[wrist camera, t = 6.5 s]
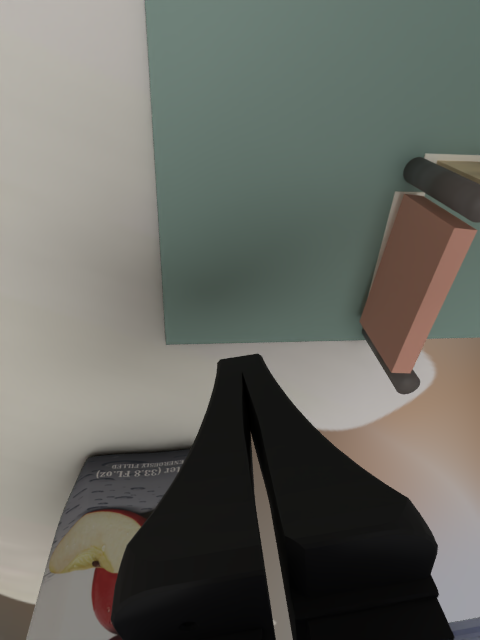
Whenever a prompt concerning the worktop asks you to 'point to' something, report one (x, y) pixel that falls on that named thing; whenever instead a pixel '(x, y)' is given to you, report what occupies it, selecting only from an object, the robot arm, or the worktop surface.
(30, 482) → the worktop surface
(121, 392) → the worktop surface
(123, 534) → the juice carton
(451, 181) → the tan and grey block
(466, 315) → the card
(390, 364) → the gate panel
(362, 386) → the worktop surface
